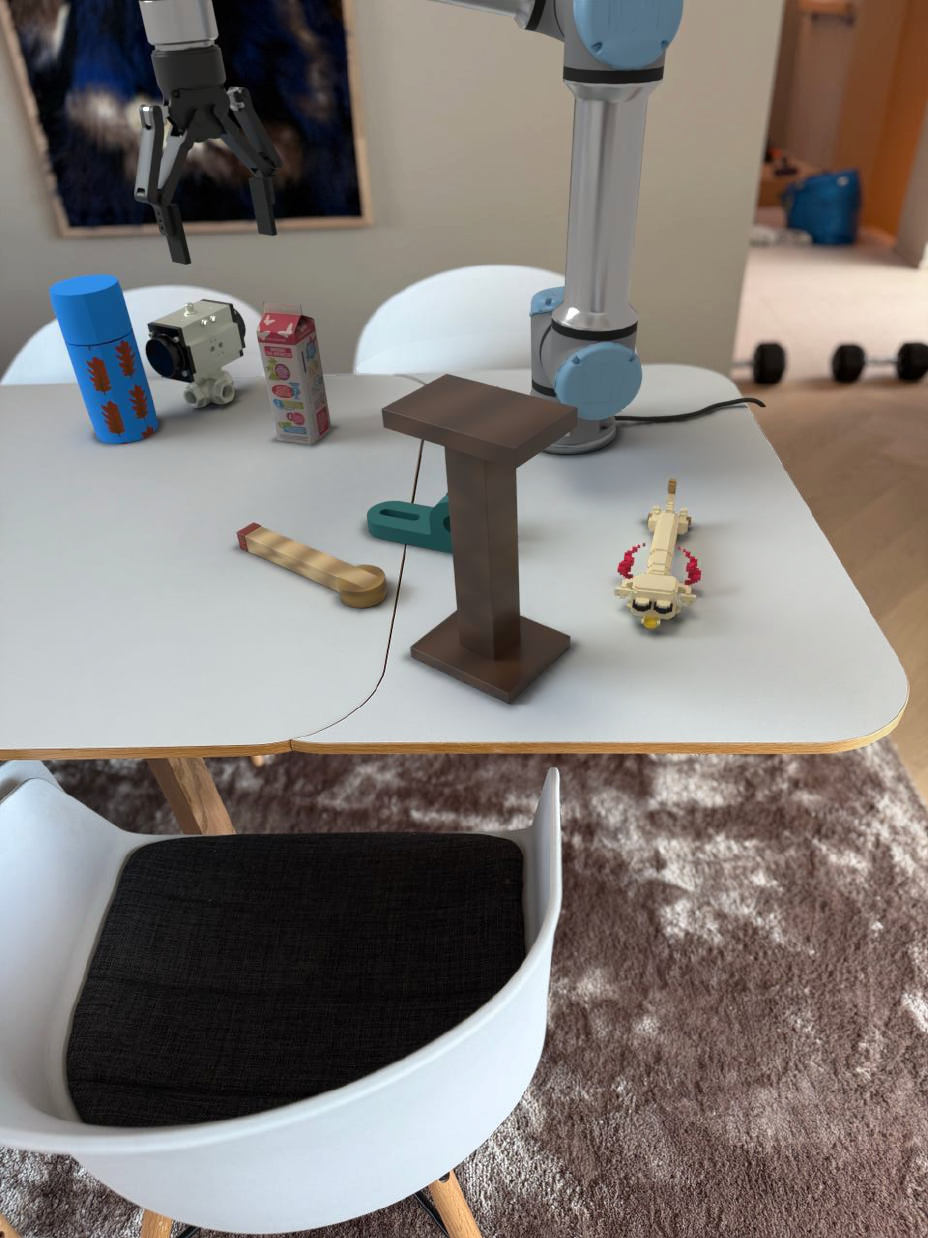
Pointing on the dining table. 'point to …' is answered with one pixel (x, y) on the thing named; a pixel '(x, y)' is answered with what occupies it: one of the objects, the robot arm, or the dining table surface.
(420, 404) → the stand
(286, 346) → the juice carton
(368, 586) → the pointer
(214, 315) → the ball valve
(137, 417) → the thermos
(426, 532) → the bracket
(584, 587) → the dining table surface
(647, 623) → the cream toy animal figure
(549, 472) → the dining table surface
